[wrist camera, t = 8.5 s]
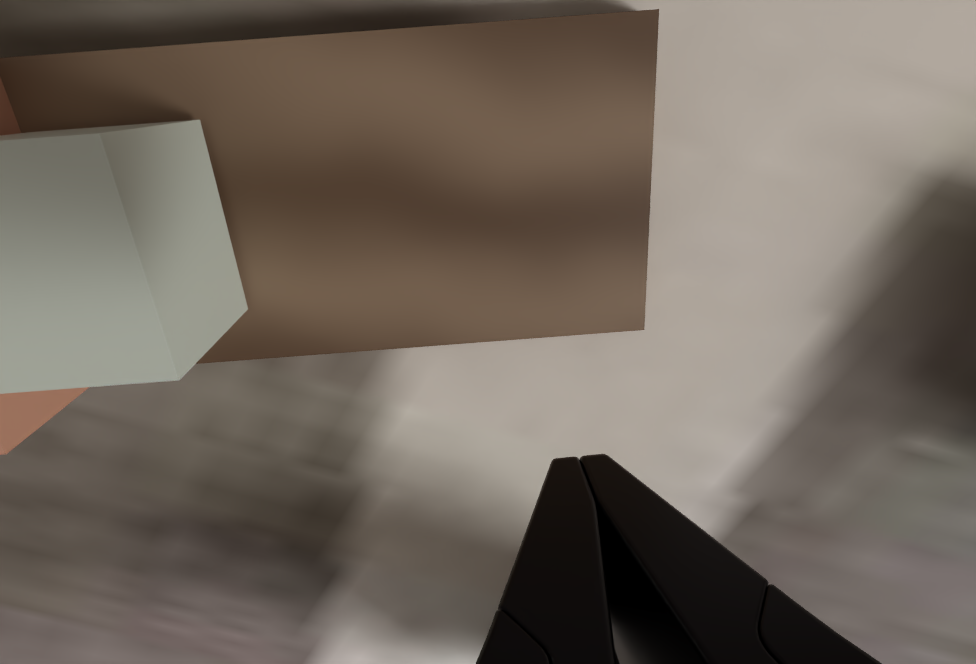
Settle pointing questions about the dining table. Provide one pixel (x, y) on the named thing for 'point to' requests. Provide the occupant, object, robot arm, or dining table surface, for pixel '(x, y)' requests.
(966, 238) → the dining table surface
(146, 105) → the brown boxy piece
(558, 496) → the robot arm
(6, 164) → the pale sage green cube
